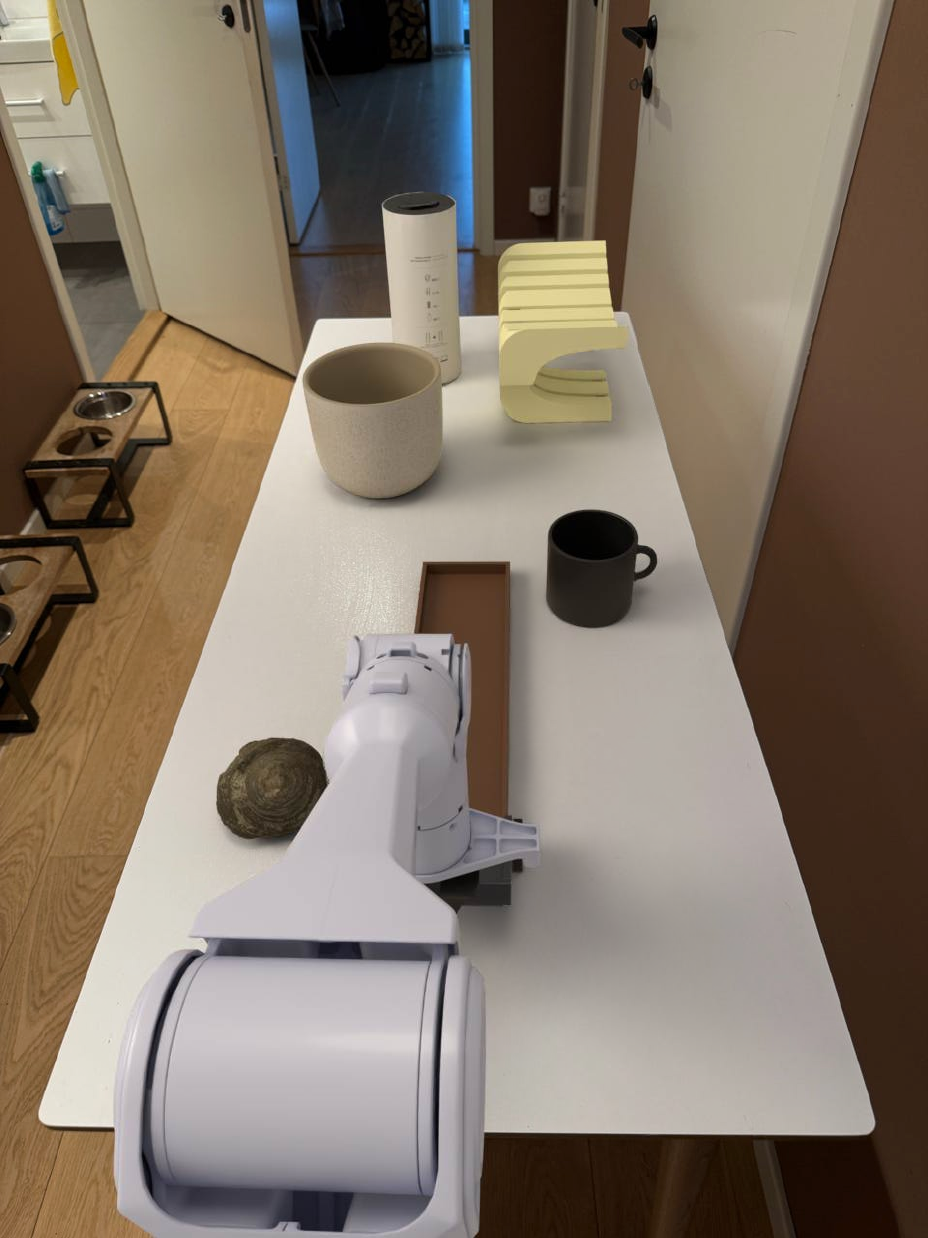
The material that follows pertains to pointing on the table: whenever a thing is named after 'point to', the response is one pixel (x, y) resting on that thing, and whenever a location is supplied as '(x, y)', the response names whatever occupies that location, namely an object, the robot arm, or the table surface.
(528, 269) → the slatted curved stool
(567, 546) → the mug
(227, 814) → the seashell
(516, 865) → the bracket
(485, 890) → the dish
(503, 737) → the tray
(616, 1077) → the table surface
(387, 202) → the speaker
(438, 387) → the planter
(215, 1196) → the robot arm
